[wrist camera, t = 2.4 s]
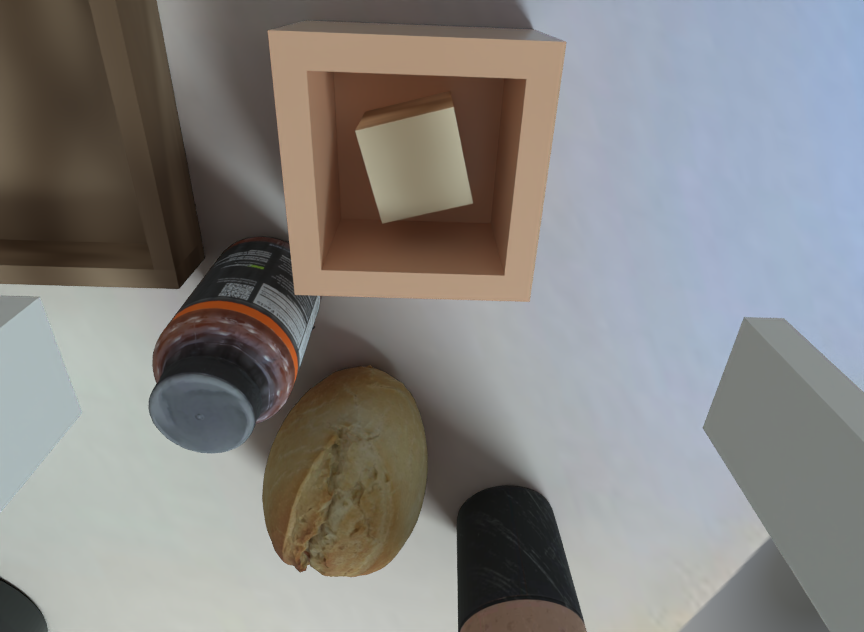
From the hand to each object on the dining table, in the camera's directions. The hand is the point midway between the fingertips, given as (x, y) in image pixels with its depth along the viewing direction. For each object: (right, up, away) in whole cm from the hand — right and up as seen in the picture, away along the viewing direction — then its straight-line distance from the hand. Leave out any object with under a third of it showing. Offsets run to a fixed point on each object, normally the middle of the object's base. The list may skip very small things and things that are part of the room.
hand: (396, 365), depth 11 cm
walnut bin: (-18, +10, +16) cm, 26 cm away
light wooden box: (0, +10, +16) cm, 19 cm away
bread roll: (-5, -7, +26) cm, 28 cm away
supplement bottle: (-8, +3, +20) cm, 22 cm away
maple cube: (0, +9, +15) cm, 18 cm away
